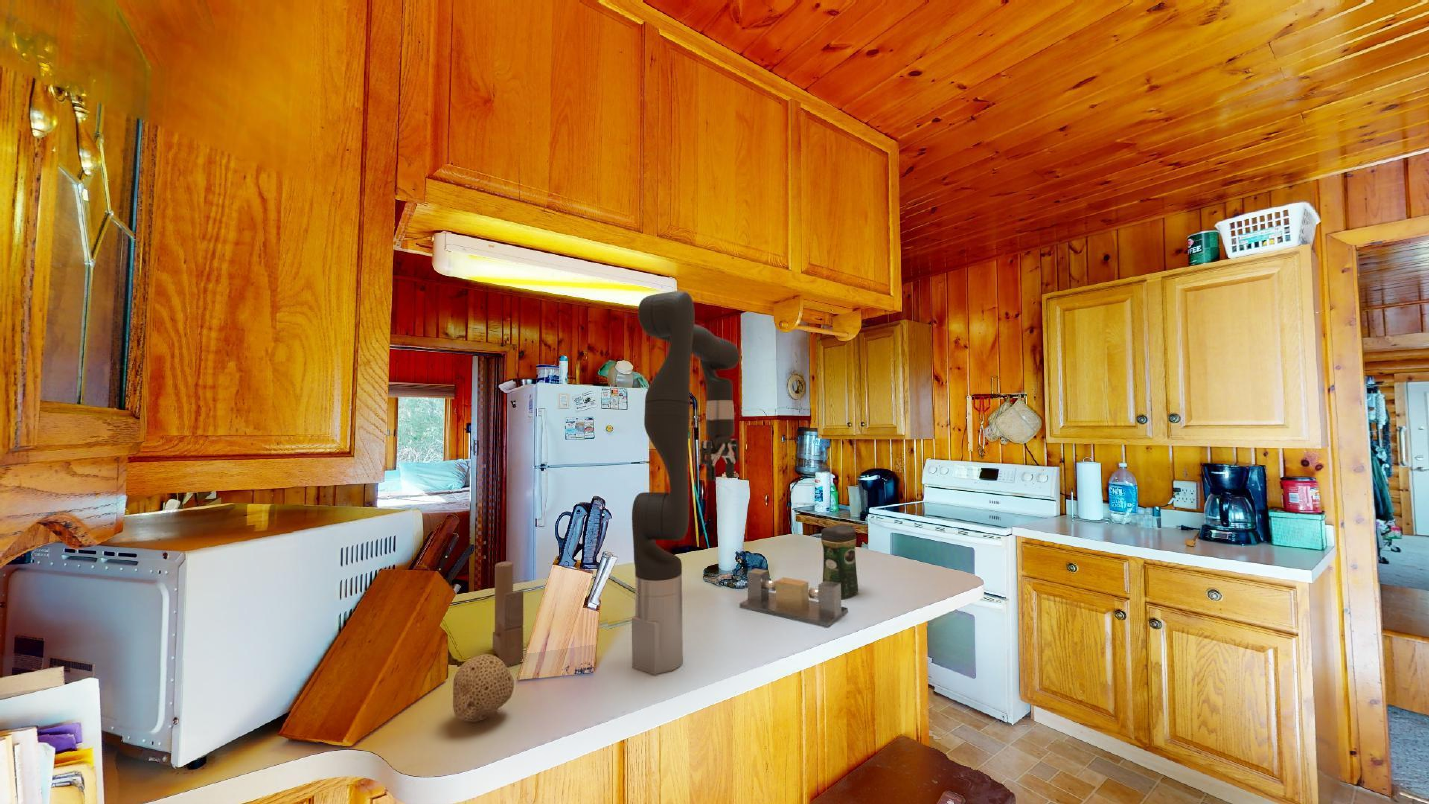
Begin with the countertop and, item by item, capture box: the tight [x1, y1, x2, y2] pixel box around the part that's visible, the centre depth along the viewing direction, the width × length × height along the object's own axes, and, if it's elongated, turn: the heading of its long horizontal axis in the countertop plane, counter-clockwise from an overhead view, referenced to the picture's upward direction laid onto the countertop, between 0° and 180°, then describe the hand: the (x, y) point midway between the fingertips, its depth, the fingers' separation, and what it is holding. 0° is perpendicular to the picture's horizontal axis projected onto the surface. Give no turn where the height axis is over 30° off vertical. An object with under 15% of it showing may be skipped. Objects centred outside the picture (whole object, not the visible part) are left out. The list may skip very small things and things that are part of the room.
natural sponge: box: [452, 653, 515, 723], centre depth 85 cm, size 9×9×10 cm
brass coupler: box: [775, 577, 810, 611], centre depth 133 cm, size 4×7×6 cm, turn 55°
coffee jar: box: [820, 523, 859, 599], centre depth 145 cm, size 10×8×19 cm
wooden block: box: [492, 561, 524, 668], centre depth 109 cm, size 4×11×18 cm, turn 35°
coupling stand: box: [739, 568, 849, 628], centre depth 133 cm, size 12×24×8 cm, turn 54°
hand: (720, 479), depth 141 cm, fingers open, 8 cm apart
